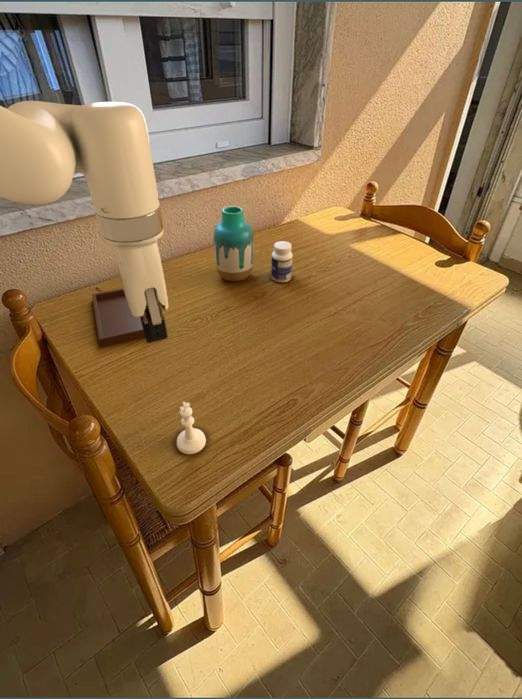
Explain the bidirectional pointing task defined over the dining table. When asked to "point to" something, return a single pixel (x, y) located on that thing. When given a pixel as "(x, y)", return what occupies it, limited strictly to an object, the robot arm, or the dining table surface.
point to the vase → (233, 245)
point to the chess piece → (189, 433)
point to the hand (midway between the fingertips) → (156, 337)
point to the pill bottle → (281, 262)
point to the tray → (115, 318)
